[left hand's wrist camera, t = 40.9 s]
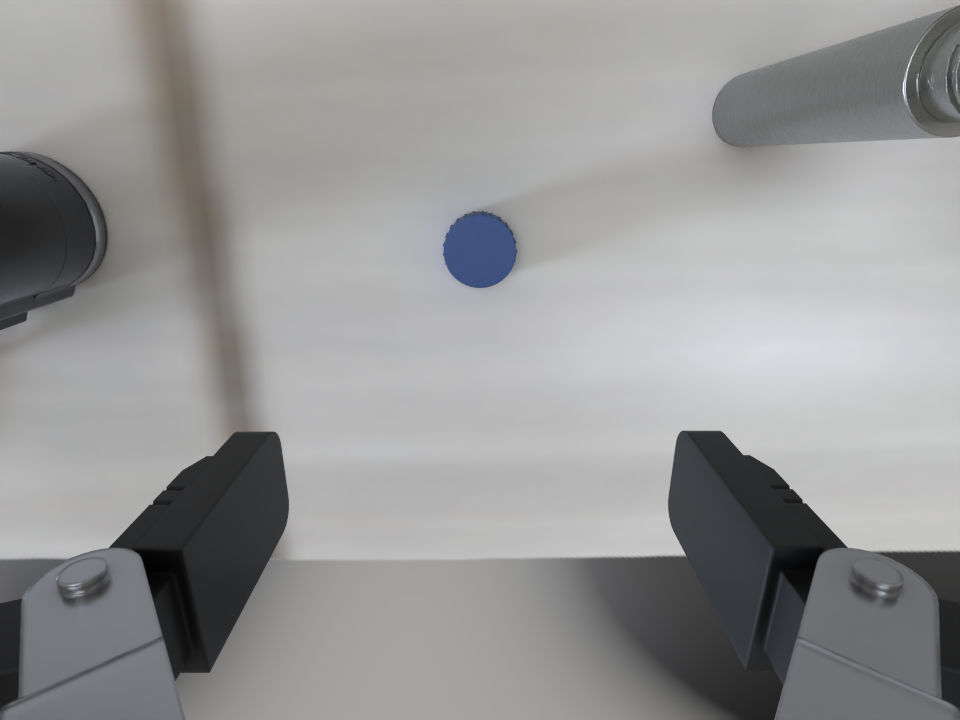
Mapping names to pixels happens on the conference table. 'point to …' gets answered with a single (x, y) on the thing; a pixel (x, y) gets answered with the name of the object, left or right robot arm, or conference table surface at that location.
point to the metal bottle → (852, 90)
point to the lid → (479, 249)
